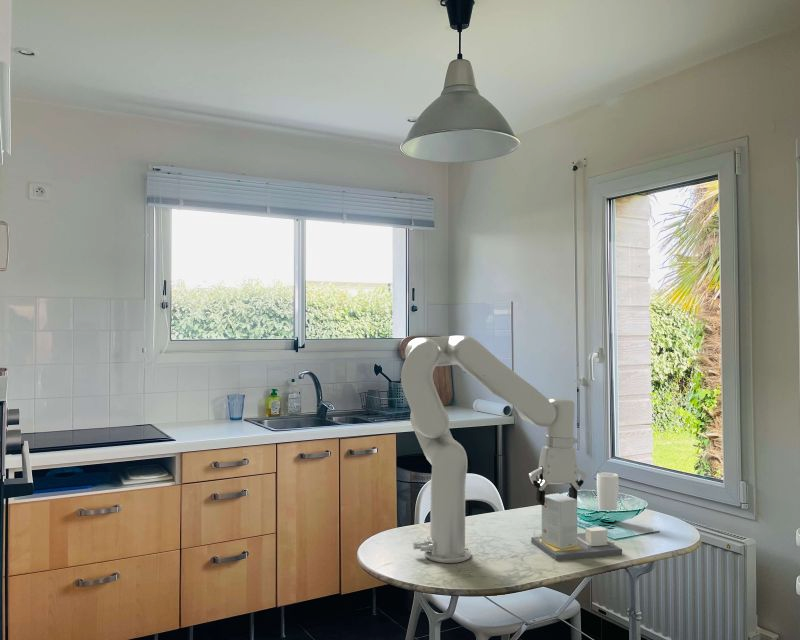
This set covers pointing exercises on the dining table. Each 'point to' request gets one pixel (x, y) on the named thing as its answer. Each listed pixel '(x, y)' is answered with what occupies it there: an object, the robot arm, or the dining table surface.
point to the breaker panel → (577, 549)
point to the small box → (559, 521)
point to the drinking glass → (607, 490)
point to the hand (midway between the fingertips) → (556, 503)
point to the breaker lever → (596, 536)
